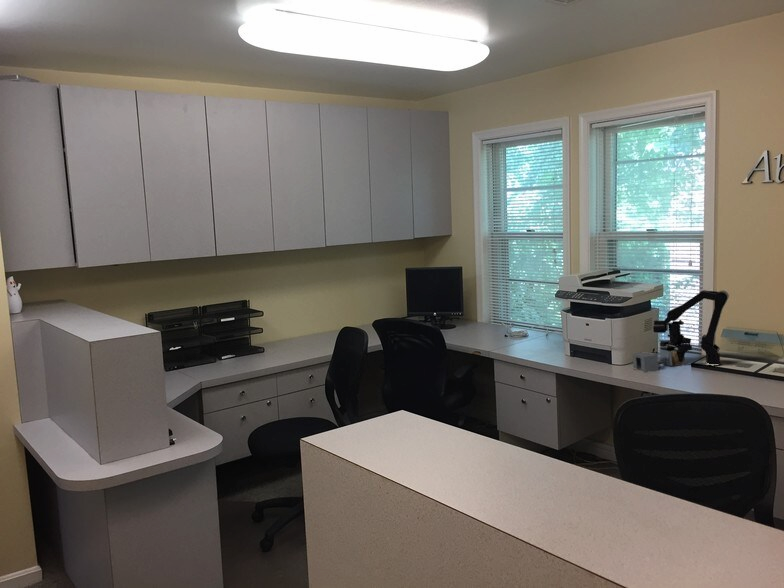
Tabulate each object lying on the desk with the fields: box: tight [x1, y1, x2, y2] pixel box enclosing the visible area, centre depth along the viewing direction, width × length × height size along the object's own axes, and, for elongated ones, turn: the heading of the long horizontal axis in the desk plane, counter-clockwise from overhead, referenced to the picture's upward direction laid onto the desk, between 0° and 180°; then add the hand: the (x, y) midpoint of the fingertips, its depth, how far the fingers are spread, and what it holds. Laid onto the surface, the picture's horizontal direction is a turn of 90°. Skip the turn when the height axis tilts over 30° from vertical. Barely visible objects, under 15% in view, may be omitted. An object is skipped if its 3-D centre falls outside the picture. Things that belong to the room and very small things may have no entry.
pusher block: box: [671, 349, 686, 367], centre depth 345 cm, size 5×6×7 cm
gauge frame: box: [632, 351, 663, 373], centre depth 343 cm, size 14×18×8 cm
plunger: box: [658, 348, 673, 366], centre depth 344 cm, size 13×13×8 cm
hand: (676, 361), depth 345 cm, fingers open, 7 cm apart
